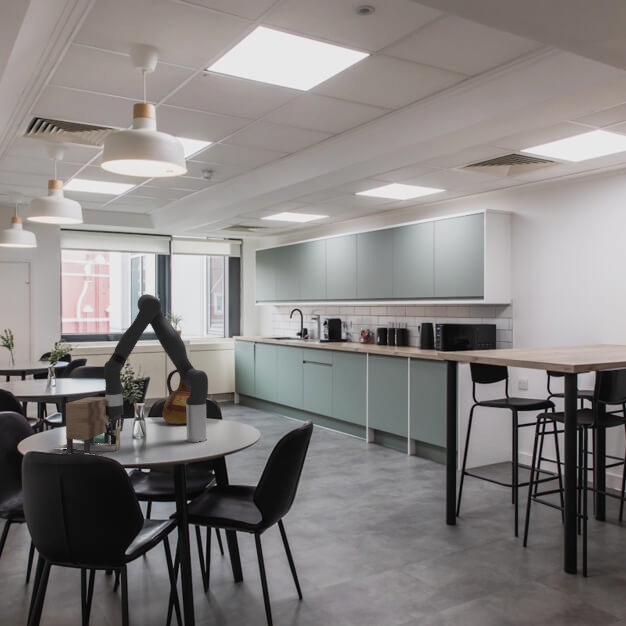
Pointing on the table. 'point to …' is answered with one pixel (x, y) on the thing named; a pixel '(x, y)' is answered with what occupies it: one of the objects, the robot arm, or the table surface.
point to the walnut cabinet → (86, 421)
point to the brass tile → (60, 446)
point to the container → (99, 439)
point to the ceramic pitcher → (176, 402)
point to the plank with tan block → (100, 446)
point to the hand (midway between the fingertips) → (115, 442)
